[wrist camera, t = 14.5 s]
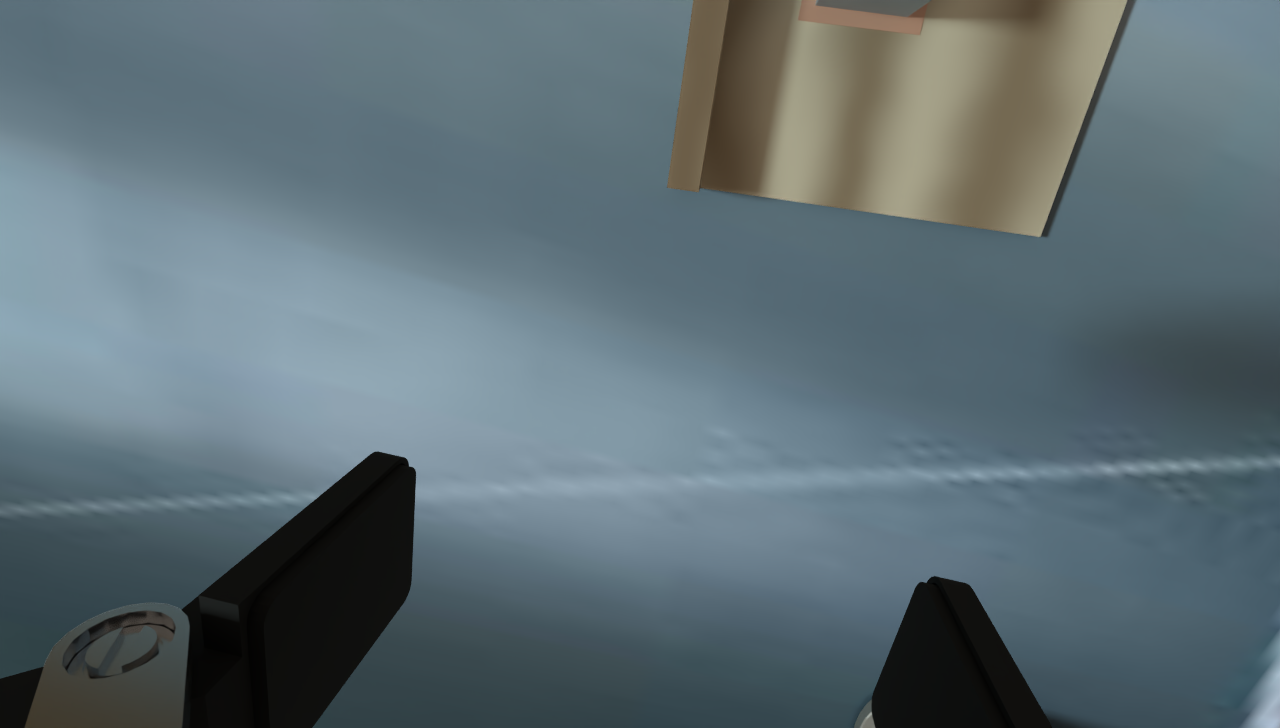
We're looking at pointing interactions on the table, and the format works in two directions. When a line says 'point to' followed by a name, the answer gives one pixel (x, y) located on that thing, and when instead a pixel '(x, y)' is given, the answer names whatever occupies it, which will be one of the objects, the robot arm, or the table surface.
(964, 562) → the table surface
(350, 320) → the table surface
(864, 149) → the wooden tray
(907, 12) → the grey block
